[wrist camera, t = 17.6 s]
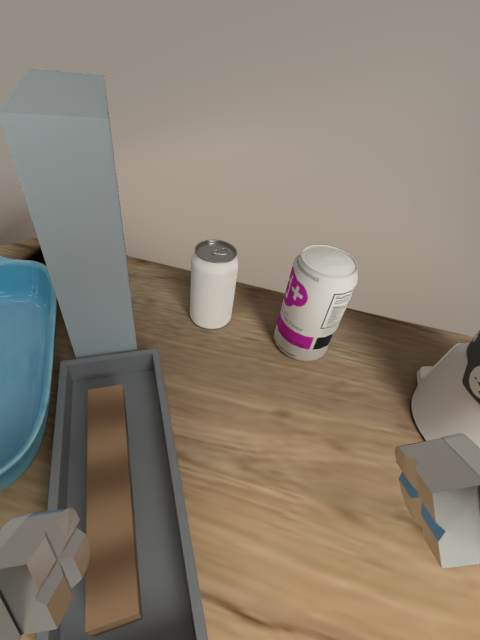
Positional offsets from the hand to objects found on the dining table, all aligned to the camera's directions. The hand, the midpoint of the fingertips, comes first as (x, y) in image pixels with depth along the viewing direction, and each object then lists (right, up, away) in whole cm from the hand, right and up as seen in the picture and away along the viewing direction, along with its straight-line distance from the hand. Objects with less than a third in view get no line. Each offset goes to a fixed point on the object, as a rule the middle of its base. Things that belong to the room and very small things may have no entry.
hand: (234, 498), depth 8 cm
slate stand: (-19, +3, +41) cm, 45 cm away
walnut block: (-12, -12, +24) cm, 30 cm away
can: (-5, +5, +45) cm, 46 cm away
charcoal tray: (-12, -12, +25) cm, 30 cm away
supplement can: (+9, +1, +43) cm, 44 cm away
